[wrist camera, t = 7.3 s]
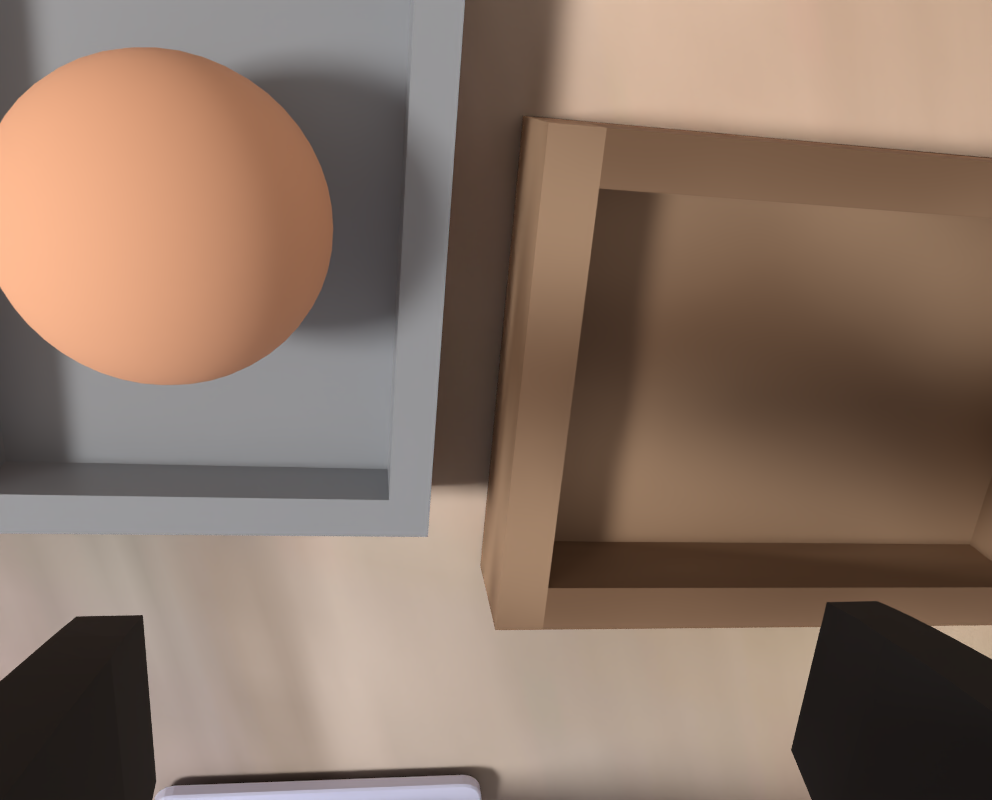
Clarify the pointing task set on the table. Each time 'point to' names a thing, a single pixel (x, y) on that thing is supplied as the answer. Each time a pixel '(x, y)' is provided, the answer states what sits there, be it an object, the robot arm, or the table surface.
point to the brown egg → (159, 216)
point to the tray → (321, 335)
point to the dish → (740, 383)
